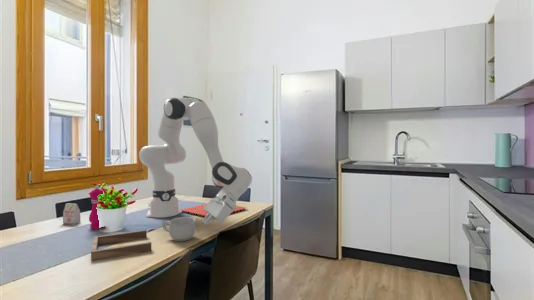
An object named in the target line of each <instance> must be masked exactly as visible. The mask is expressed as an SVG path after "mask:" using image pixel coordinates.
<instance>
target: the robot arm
mask: <svg viewBox="0 0 534 300" xmlns="http://www.w3.org/2000/svg"><path fill="white" fill-rule="evenodd" d="M184 121H190V124H191V128H192V129H193V132H194V134H195V136H196V138H197V139H198V141H199V143H200V144H201V146H202V147H203V149H204V150H205V152H206V154H207V155H206V156H207V158H208V160H209V163H210V166H211V169H212V170H211V175H212V176H211V179H212V180H211V181H212V183H213V185H214V186H215V187H217V188H219V189H220V190H219V191H218V192H217V194H216V195H215V197H212V199H210V200H209V201H208V202H207V203H205V204H206V206H205V207H204V210H205V211H206V212H207V213H208V214H207V215H206V217H205V218H204V219H203V220H202V223H203V224H204V225H205V226H208V225H209V224H210V223H211V222H213V221H214V220H217V221H218V222H220V223H222V222H225V220H226V219H228V217H229V216H230V215H231V214H232V213H231V212H232V210H235V209H236V208H237V206H238V204H237V201H239V198H240V197H241V196H242V195H243V194H244V193H246V191H247V190H248V189H249V187H250V185H251V184H252V182H253V177H252V175H251V173H250V172H249V171H248V170H247V169H246V168H245V167H238V166H234V165H232V164H231V163H228V162H226V161H225V162H224V159H223V157H222V154H221V152H220V148H219V147H220V146H219V131H218V125H217V123H216V119H215V117H214V114H213V113H212V111H211V108H209V106H208V104H207V103H206V102H205V101H204V100H202V99H200V98H193V97H172V98H171V97H170V98H168V99H166V100H165V101H164V105H163V111H162V115H161V118H160V123H159V127H158V129H157V130H158V131H157V135H158V137H159V139H161V140H162V141H163V142H164V144H151V145H146V146H142V148H141V149H140V150H139V154H138V156H139V157H138V158H139V160H140V162H141V163H142V164H143V165H145V166H146V167H147V168H148V170H149V171H150V173H151V176H152V183H153V187H152V188H153V189H152V199H150V201H149V202H148V211H147V213H146V215H145V216H146V218H156V219H159V218H170V217H174V216H177V215H179V214H183V213H182V211H181V209H180V208H179V198H178V197H176V188H175V175H174V174H173V173H172V172H171V171H169V170H167V169H166V165H175V164H176V165H177V164H180V163H183V162H184V161H185V159H186V156H187V151H186V149H185V147H184V146H183V145H182V144H181V142H180V137H181V130H182V126H183V122H184Z"/></svg>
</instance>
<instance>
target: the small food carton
mask: <svg viewBox="0 0 534 300" xmlns="http://www.w3.org/2000/svg"><path fill="white" fill-rule="evenodd" d="M79 222H80V223H81V210H80V208H79V206H78V203H70V202H69V203H66V202H65V204H64V208H63V211H62V224H63V223H67V224H66V225H73V224H75V225H77V224H76V223H78V224H80V223H79Z"/></svg>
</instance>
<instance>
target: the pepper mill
mask: <svg viewBox="0 0 534 300" xmlns="http://www.w3.org/2000/svg"><path fill="white" fill-rule="evenodd" d="M103 191H104V190H103V189H101V188H100V186H99V185H95V186H94V189H92V190H91V191H90V193H89V197H90V200H91V202H90V203H91V204H92V207H91V208H92V209H91V211H90V214H89V217H88V221H89V223H91V224H90V225H89V227H90V228H89V229H91V230H100V229H99V220H98V215H97V209H96V207H97V196H98V195H99V194H103Z"/></svg>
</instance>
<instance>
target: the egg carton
mask: <svg viewBox="0 0 534 300" xmlns="http://www.w3.org/2000/svg"><path fill="white" fill-rule="evenodd" d="M206 204H207V203H205V204H199V205H197V206H196V205H195V206H191V207H185V208H180V211H182V212H184V214H187V215H188V214H189V215H191V214H192V215H194V214H195V216H196V217H197V216H198V217H200V218H204V219H205V217H206V215H207V214H208V213H207V212H206V211H205V210H204V207H205V206H206ZM246 209H248V207H247V206H246V207H245V206H241V205H239V206H238V205H237V208H236V209H235V210H232V212H231V214H232V215H233V213H234V214H236V213H240V212H243V211H246ZM240 210H241V211H240ZM188 212H189V213H188ZM196 214H197V215H196Z"/></svg>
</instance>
